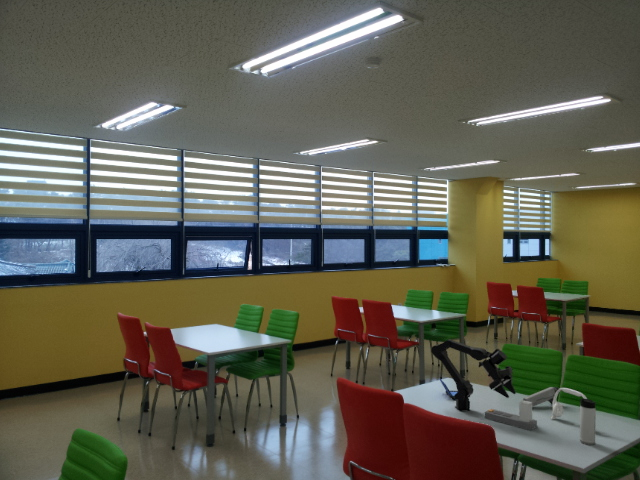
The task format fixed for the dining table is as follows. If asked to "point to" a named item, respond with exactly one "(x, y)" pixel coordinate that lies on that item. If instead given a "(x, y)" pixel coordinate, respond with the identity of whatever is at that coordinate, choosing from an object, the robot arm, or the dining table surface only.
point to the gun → (542, 396)
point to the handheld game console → (450, 393)
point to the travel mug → (587, 421)
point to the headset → (558, 407)
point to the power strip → (509, 419)
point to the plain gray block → (525, 411)
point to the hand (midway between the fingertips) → (511, 395)
